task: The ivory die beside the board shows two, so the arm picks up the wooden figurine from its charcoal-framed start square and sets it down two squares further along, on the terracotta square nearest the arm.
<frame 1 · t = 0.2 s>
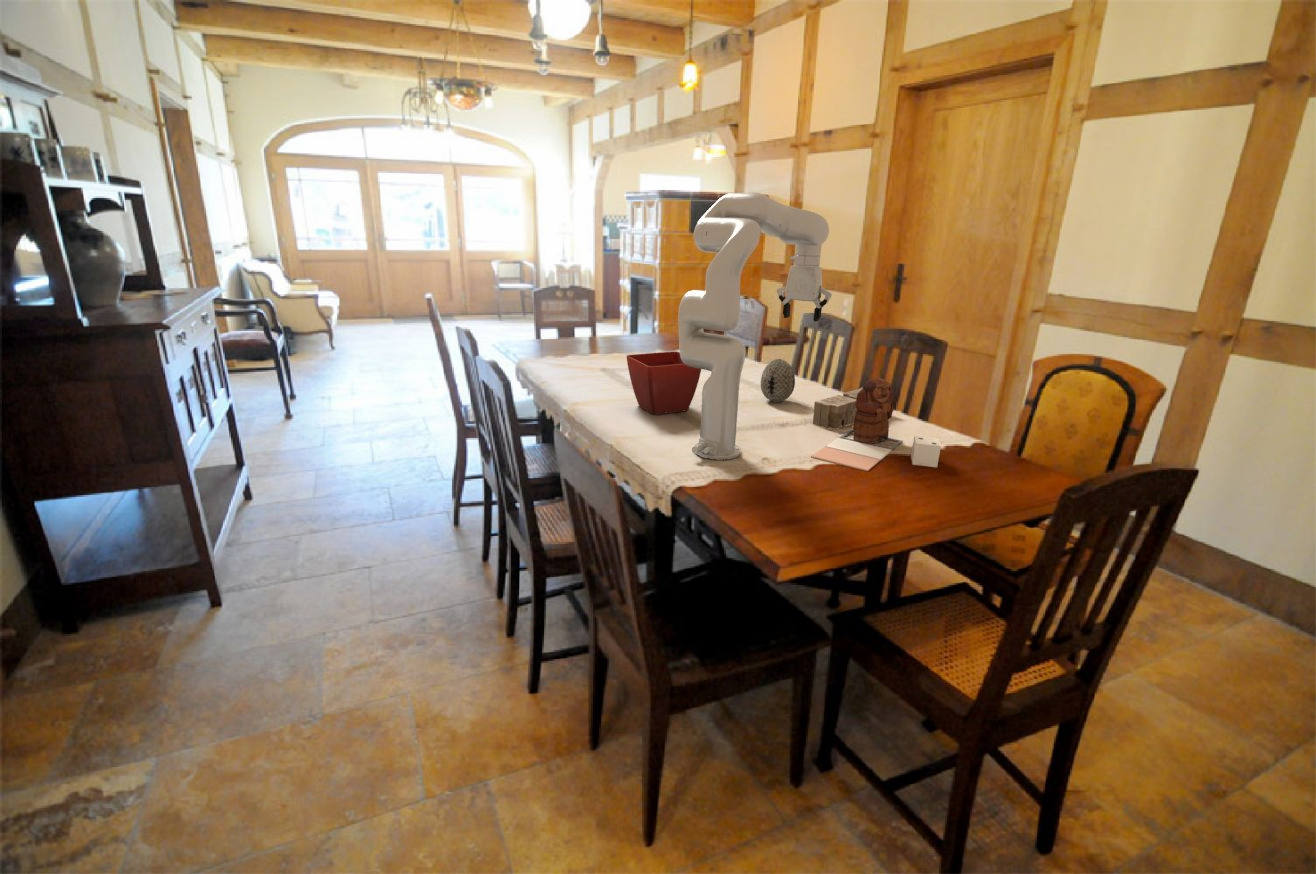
hand: (801, 319, 194), 31 cm above the table, tool pointing down, fingers open, 9 cm apart
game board: (858, 449, 176), on the table
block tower: (848, 419, 204), on the table
wooden figurine: (870, 439, 184), on the table, touching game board
die: (923, 462, 168), on the table
plant pot: (662, 408, 209), on the table
decorative egg: (775, 402, 221), on the table
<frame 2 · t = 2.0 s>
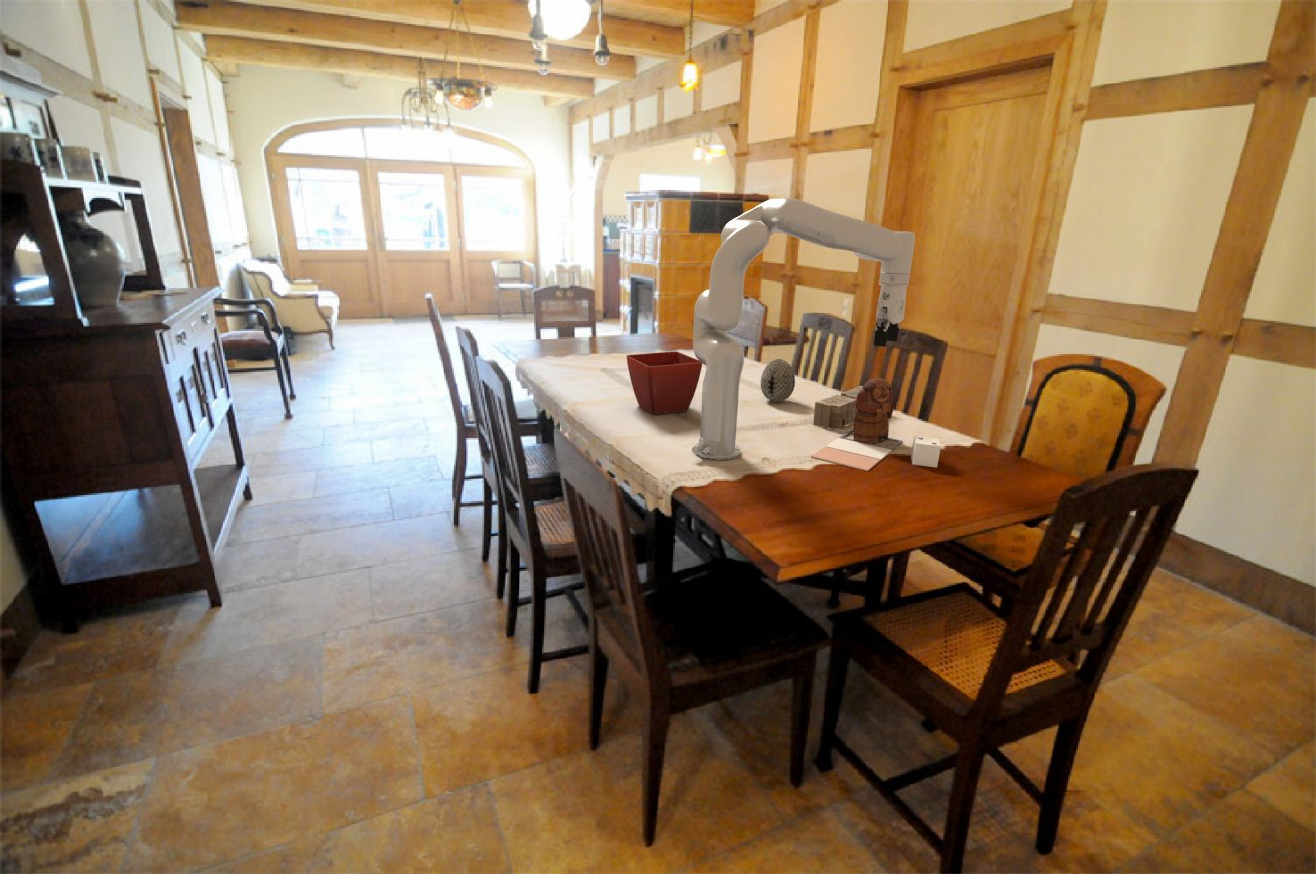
hand: (885, 343, 174), 28 cm above the table, tool pointing down, fingers open, 9 cm apart
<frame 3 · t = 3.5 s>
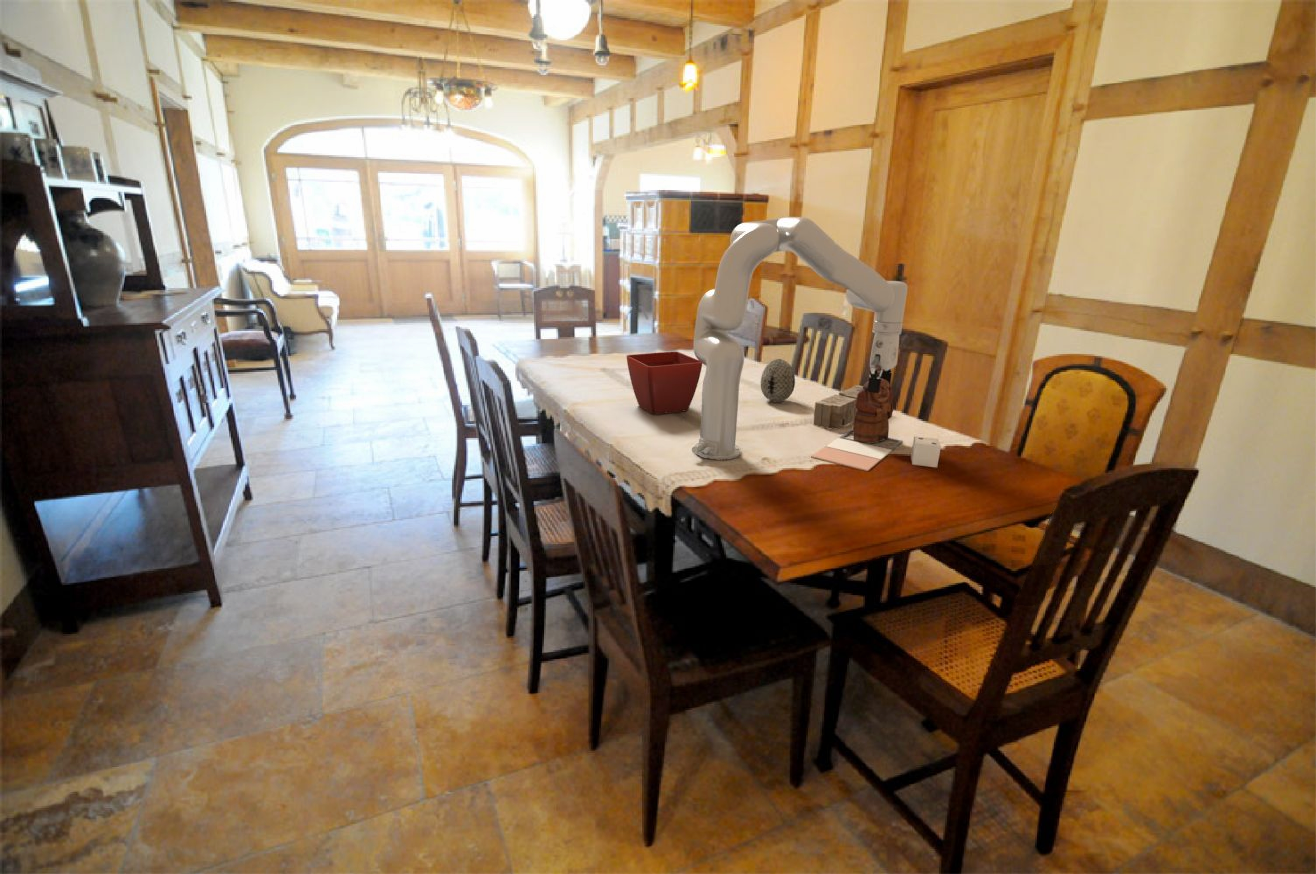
hand: (878, 388, 179), 15 cm above the table, tool pointing down, fingers closed on wooden figurine, 8 cm apart
wooden figurine: (870, 439, 184), on the table, touching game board, gripper
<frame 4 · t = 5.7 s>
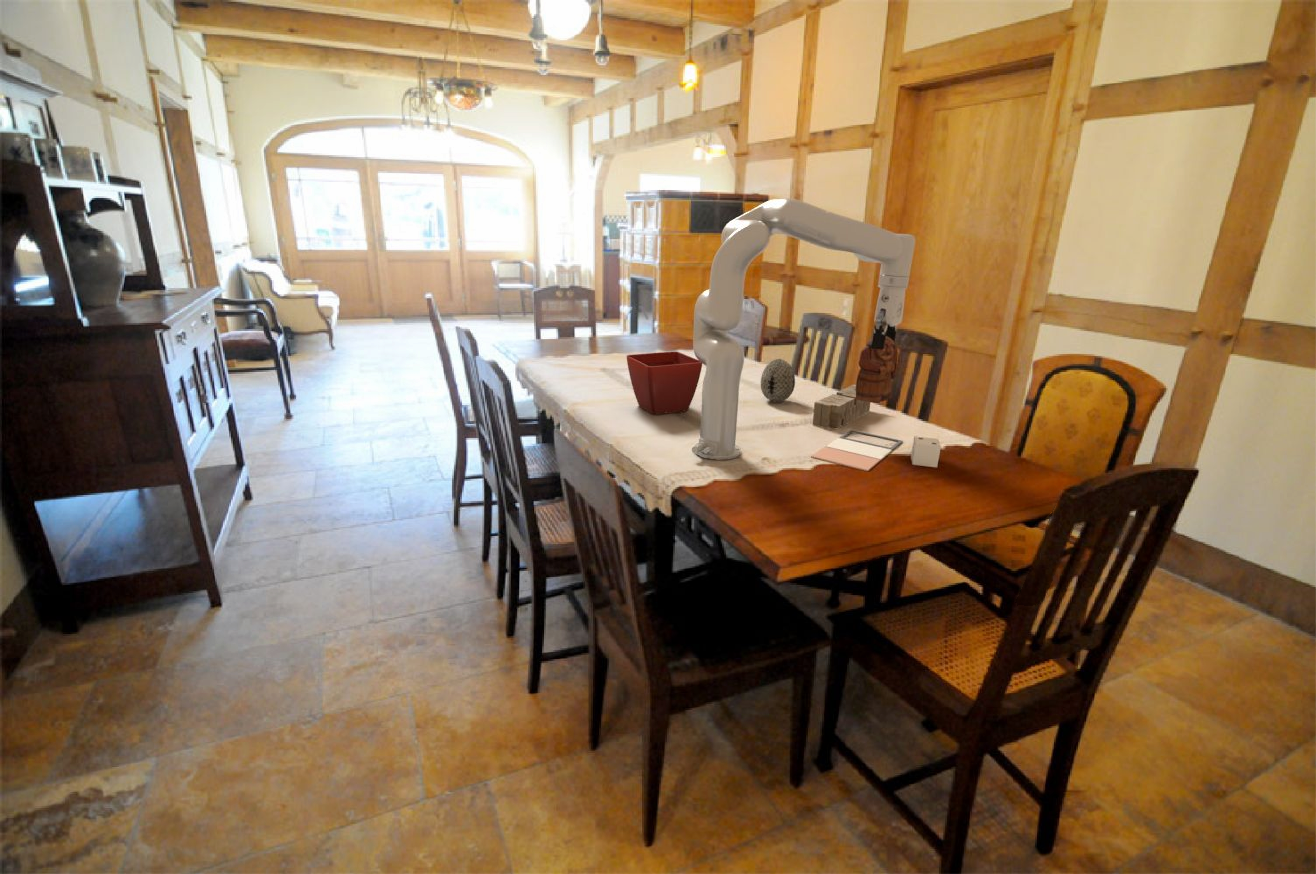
hand: (882, 346, 174), 28 cm above the table, tool pointing down, fingers closed on wooden figurine, 8 cm apart
wooden figurine: (873, 399, 179), point 12 cm above the table, touching gripper
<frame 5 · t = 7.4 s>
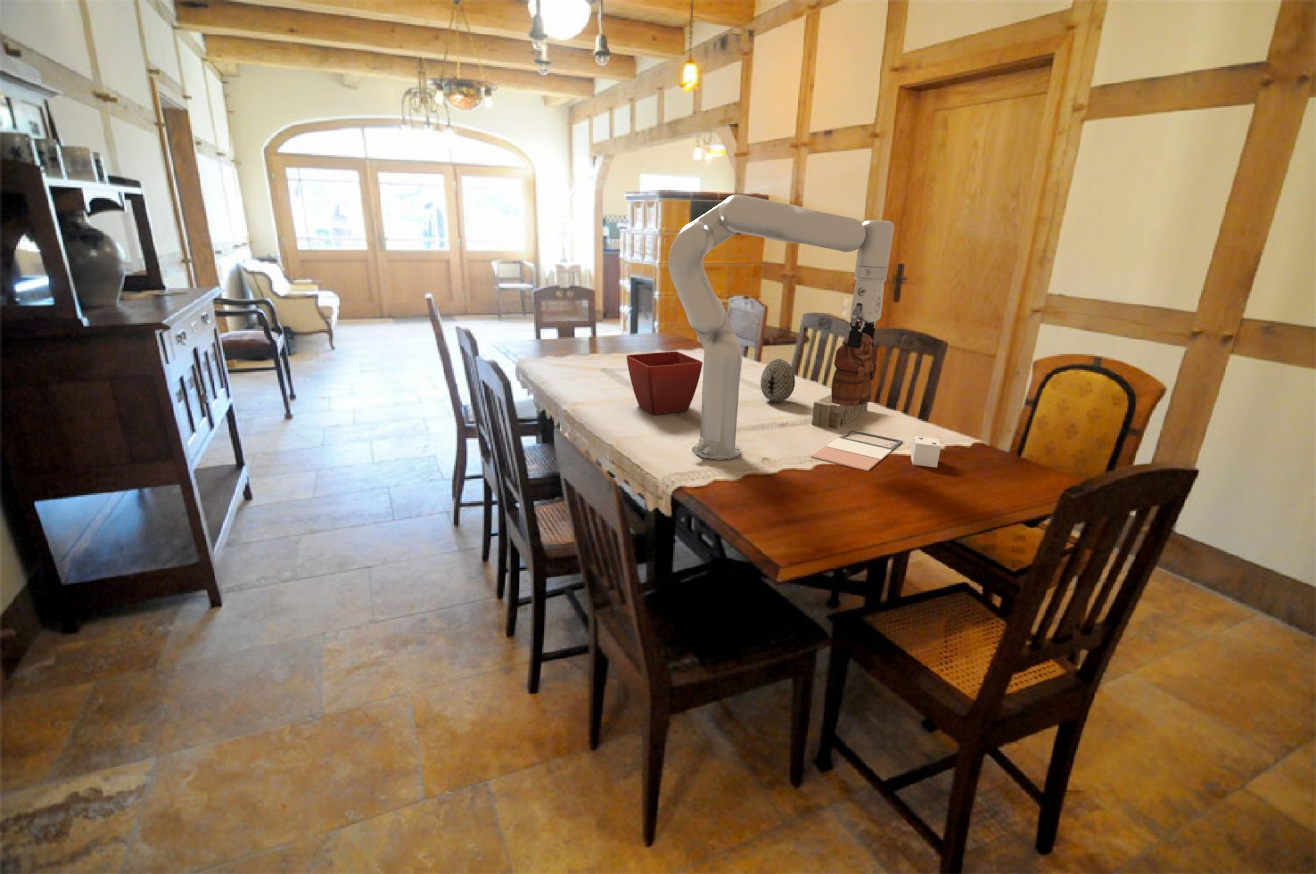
hand: (860, 344, 159), 31 cm above the table, tool pointing down, fingers closed on wooden figurine, 8 cm apart
wooden figurine: (851, 403, 164), point 15 cm above the table, touching gripper
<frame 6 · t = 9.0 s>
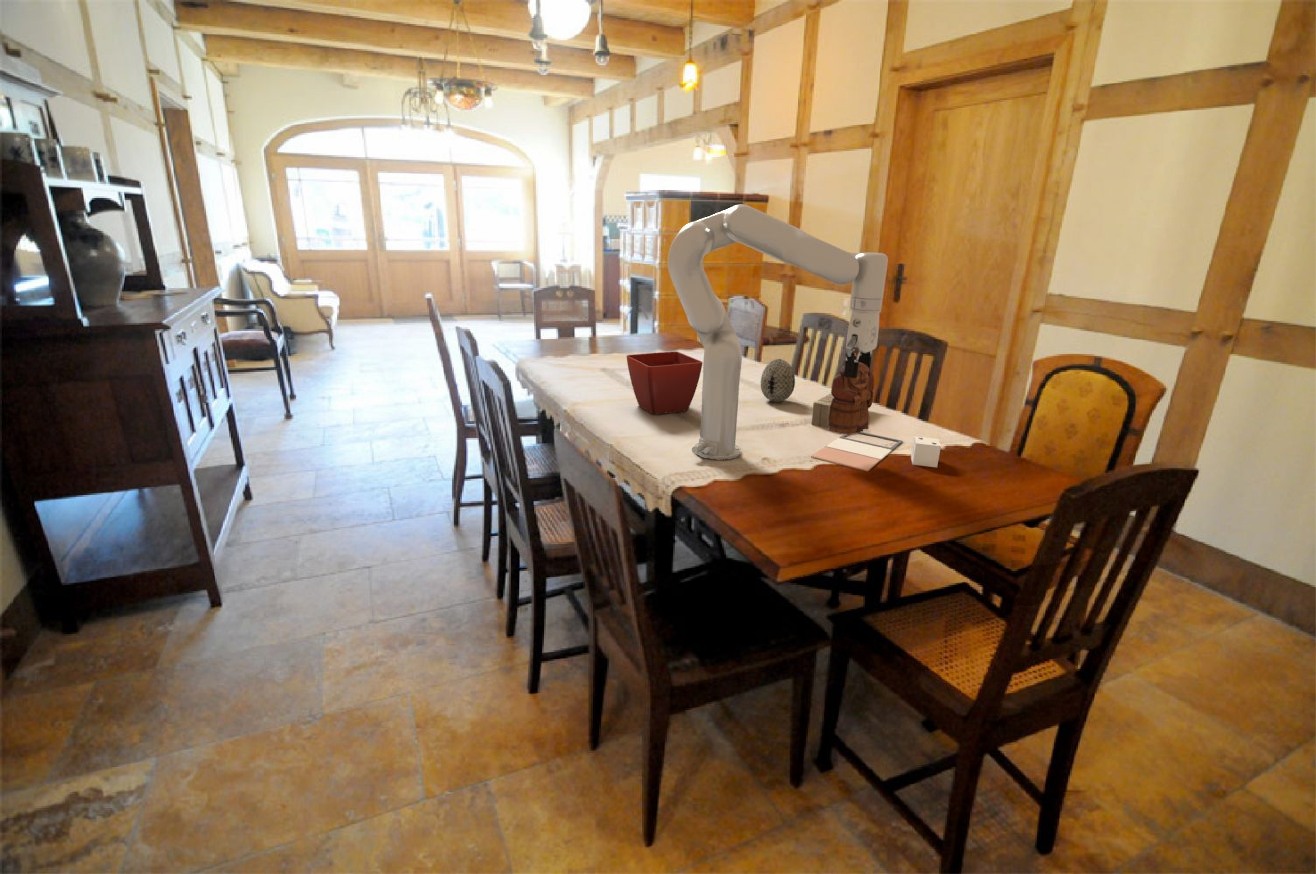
hand: (856, 373, 161), 23 cm above the table, tool pointing down, fingers closed on wooden figurine, 8 cm apart
wooden figurine: (848, 430, 166), point 8 cm above the table, touching gripper
when the fingers open (16 cm above the table, at t = 10.9 s): wooden figurine stays where it is, resting on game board.
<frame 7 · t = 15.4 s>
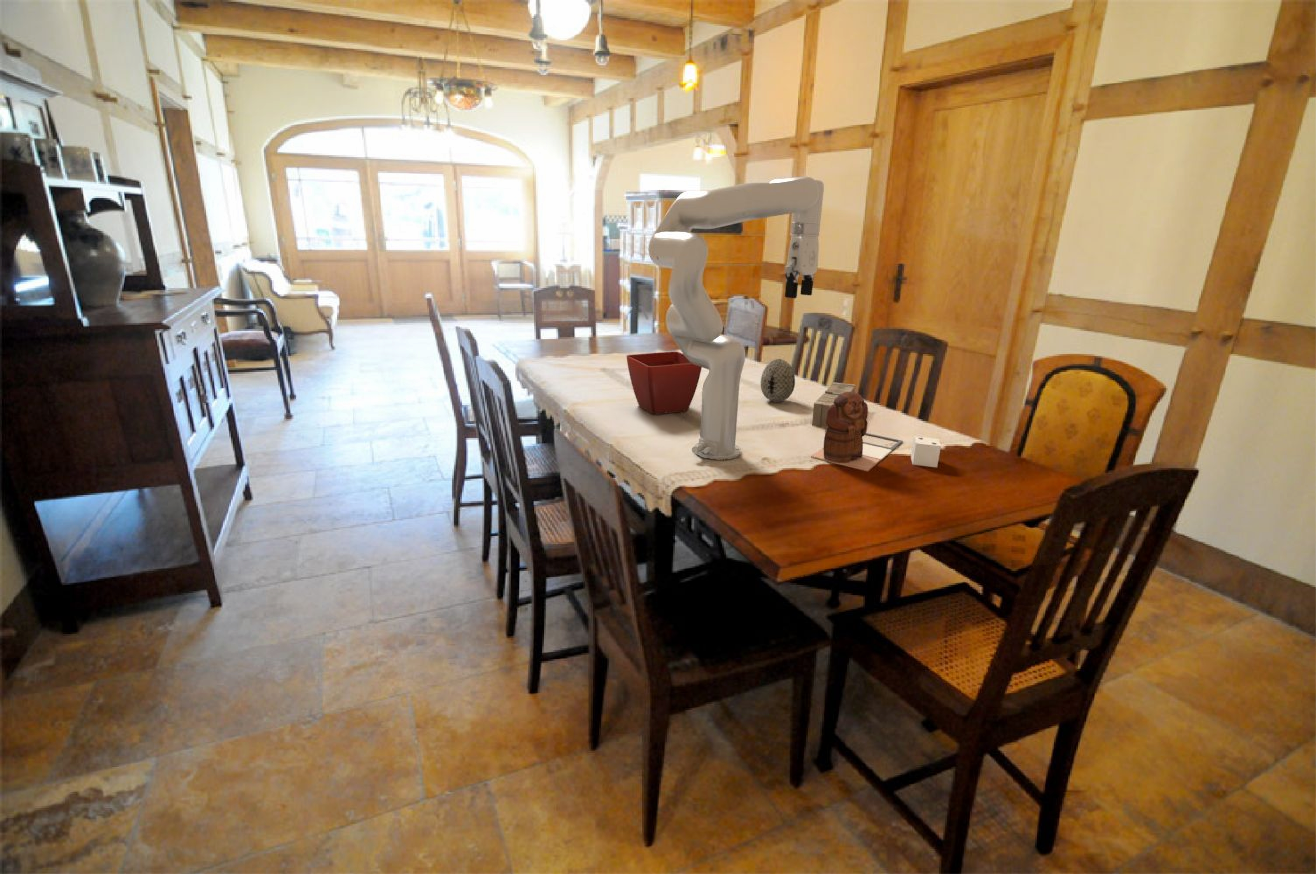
hand: (798, 296, 172), 40 cm above the table, tool pointing down, fingers open, 9 cm apart
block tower: (833, 417, 206), on the table
wooden figurine: (843, 458, 168), resting on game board
everything else where it was.
at the end: wooden figurine inside the target area (0.5 cm from its centre), resting on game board; wooden figurine tilted 0°; the gripper is holding nothing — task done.
